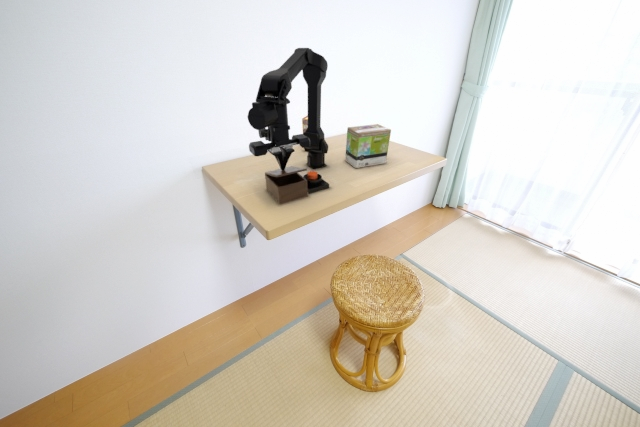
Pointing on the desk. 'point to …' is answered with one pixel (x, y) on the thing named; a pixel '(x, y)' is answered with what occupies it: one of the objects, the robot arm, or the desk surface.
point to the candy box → (305, 123)
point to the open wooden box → (287, 187)
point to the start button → (312, 175)
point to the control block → (316, 184)
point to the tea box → (367, 145)
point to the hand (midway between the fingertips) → (282, 169)
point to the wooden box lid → (285, 171)
